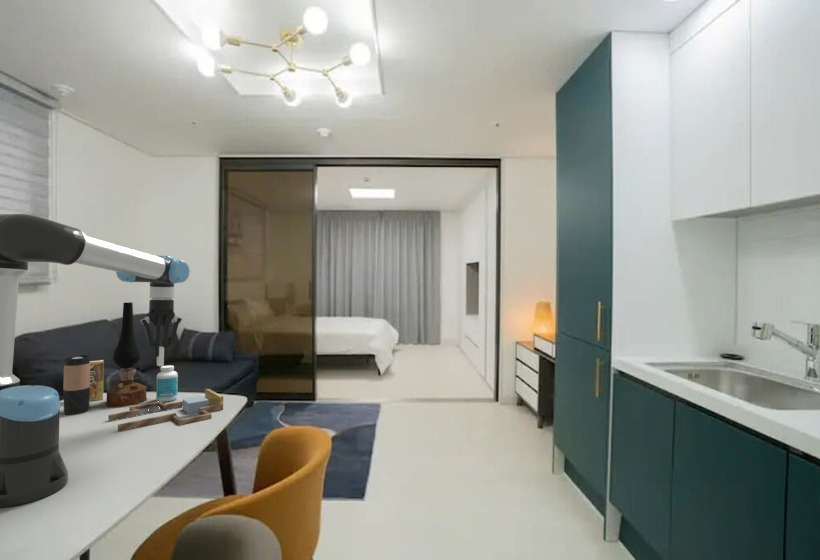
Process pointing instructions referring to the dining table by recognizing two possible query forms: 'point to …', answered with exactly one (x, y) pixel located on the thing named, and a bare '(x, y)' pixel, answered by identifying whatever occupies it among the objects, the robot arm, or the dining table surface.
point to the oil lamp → (126, 365)
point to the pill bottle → (167, 384)
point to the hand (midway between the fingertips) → (160, 365)
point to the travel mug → (76, 384)
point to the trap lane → (203, 414)
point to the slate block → (195, 404)
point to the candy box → (96, 380)
